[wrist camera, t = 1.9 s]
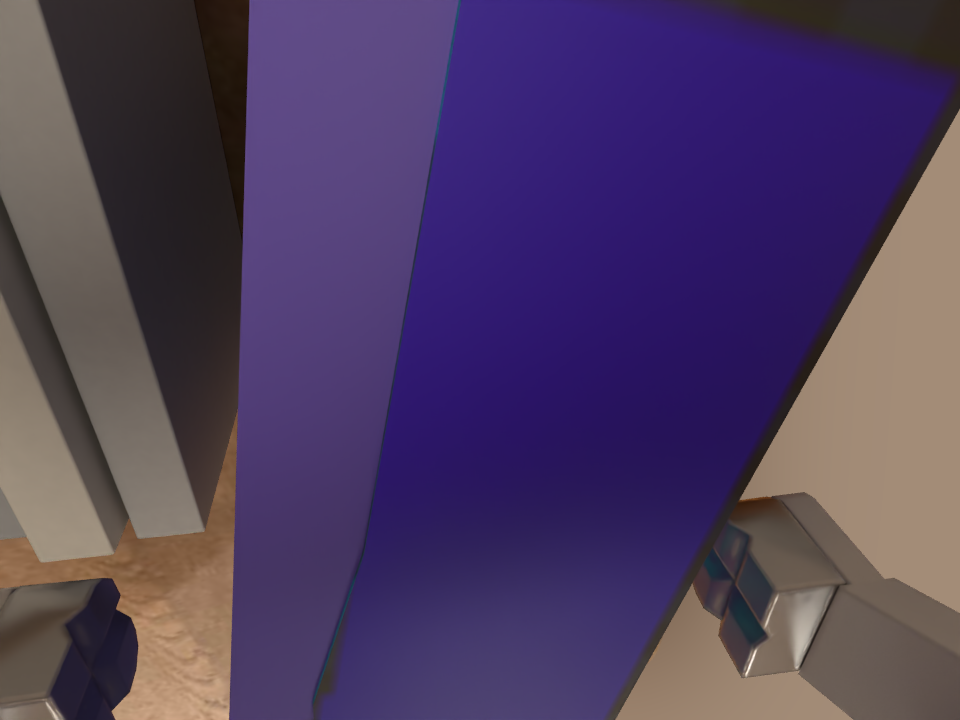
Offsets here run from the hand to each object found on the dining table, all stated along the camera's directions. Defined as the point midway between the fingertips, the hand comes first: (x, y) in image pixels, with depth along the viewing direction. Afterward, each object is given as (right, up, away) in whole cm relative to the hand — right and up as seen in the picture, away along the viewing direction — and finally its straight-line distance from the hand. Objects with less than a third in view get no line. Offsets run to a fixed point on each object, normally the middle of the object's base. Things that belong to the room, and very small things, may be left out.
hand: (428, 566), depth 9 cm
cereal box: (-3, +12, +18) cm, 22 cm away
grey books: (-13, +11, +17) cm, 24 cm away
